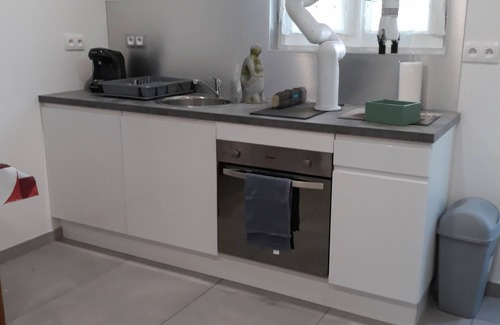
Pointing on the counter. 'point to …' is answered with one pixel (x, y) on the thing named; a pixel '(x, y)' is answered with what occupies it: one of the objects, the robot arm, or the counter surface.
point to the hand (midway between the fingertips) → (388, 53)
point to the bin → (392, 111)
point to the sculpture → (253, 77)
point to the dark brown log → (289, 97)
